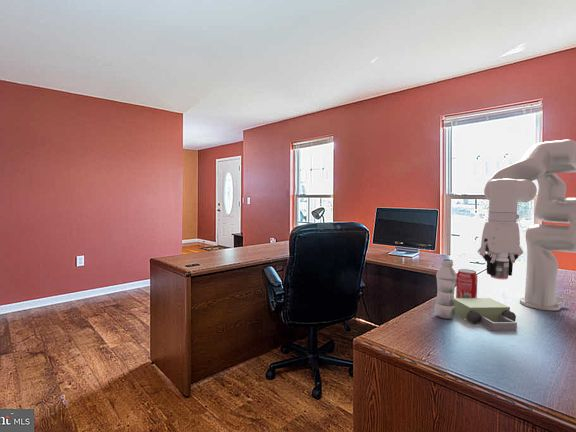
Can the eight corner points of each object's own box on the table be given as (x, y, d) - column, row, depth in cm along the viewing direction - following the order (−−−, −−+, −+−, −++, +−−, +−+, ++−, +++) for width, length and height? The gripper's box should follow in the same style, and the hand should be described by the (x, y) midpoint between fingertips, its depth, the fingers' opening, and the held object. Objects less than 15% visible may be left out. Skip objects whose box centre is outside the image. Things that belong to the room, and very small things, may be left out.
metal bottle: (453, 315, 115) (456, 259, 113) (456, 322, 108) (459, 262, 107) (433, 312, 117) (435, 257, 115) (435, 319, 110) (437, 261, 109)
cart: (488, 309, 121) (489, 296, 120) (528, 330, 102) (529, 314, 102) (446, 310, 120) (447, 296, 119) (480, 331, 101) (481, 315, 101)
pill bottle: (487, 276, 106) (488, 251, 105) (496, 275, 108) (498, 250, 107) (501, 280, 101) (503, 253, 101) (511, 279, 103) (512, 252, 103)
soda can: (479, 307, 124) (480, 273, 123) (458, 305, 125) (460, 272, 124) (472, 301, 131) (474, 269, 130) (453, 300, 132) (454, 268, 131)
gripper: (518, 217, 108) (515, 272, 109) (469, 217, 107) (466, 272, 108) (537, 219, 100) (533, 277, 101) (484, 218, 99) (481, 277, 100)
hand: (499, 274), depth 104 cm, fingers closed on pill bottle, 4 cm apart
